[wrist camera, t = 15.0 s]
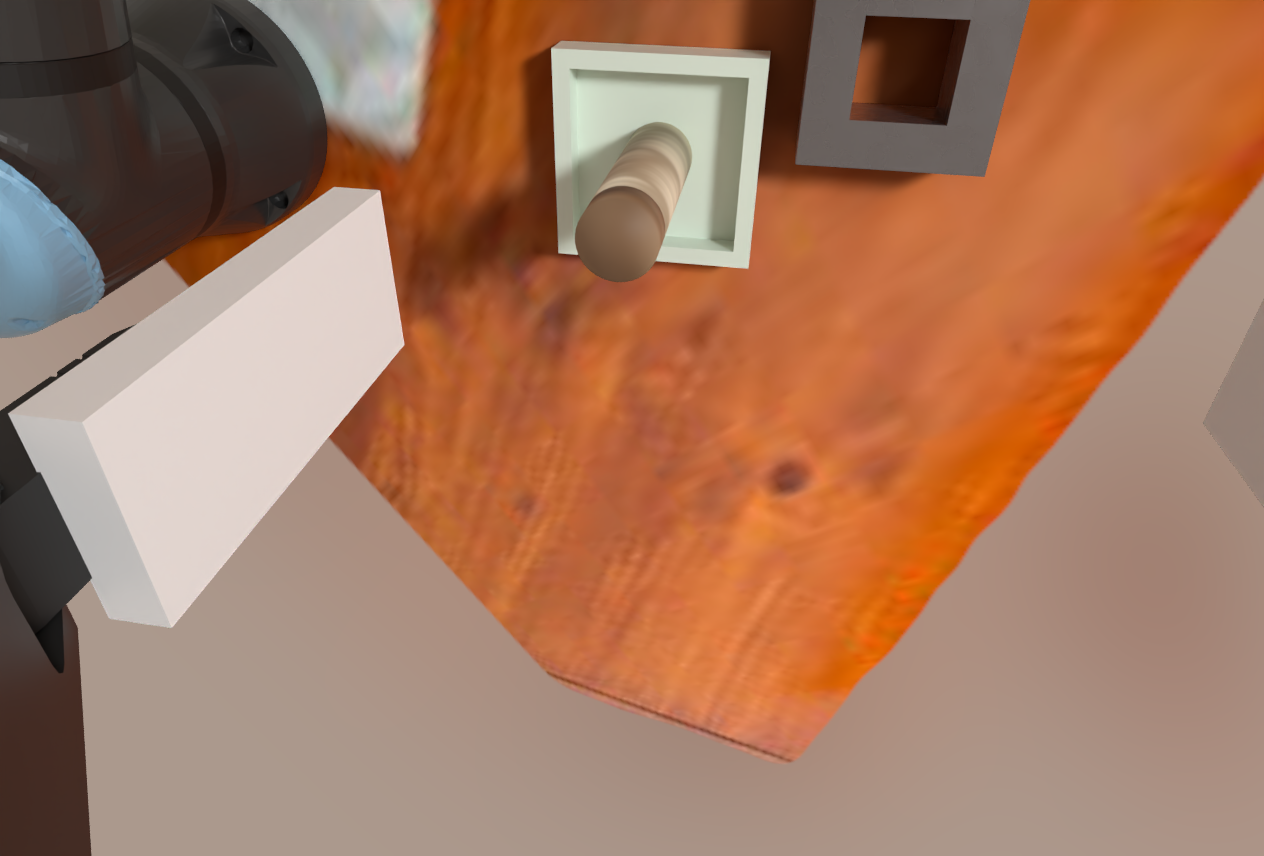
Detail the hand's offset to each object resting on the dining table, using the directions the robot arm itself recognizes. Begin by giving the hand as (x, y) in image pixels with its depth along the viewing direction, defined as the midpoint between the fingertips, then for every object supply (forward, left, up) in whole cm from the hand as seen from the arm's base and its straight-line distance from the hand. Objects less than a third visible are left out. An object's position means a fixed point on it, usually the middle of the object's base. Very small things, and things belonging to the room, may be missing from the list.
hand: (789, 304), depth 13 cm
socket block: (+6, -3, -39) cm, 39 cm away
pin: (-7, -9, -38) cm, 40 cm away
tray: (-7, -9, -39) cm, 40 cm away
